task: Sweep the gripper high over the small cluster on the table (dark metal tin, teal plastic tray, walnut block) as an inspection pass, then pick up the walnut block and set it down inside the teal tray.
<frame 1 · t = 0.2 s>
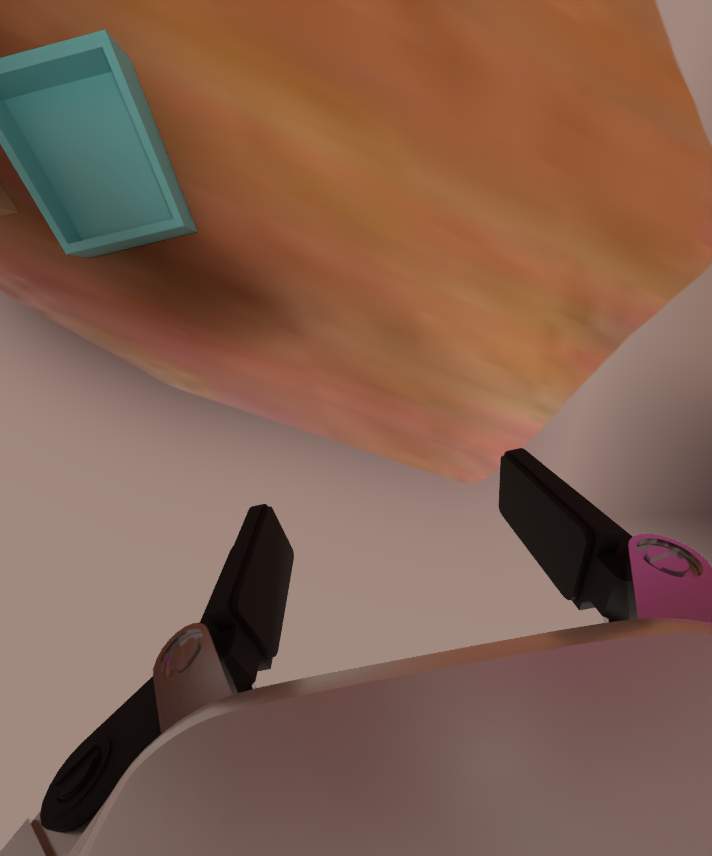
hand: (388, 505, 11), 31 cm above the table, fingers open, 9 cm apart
teal tray: (107, 170, 28), on the table
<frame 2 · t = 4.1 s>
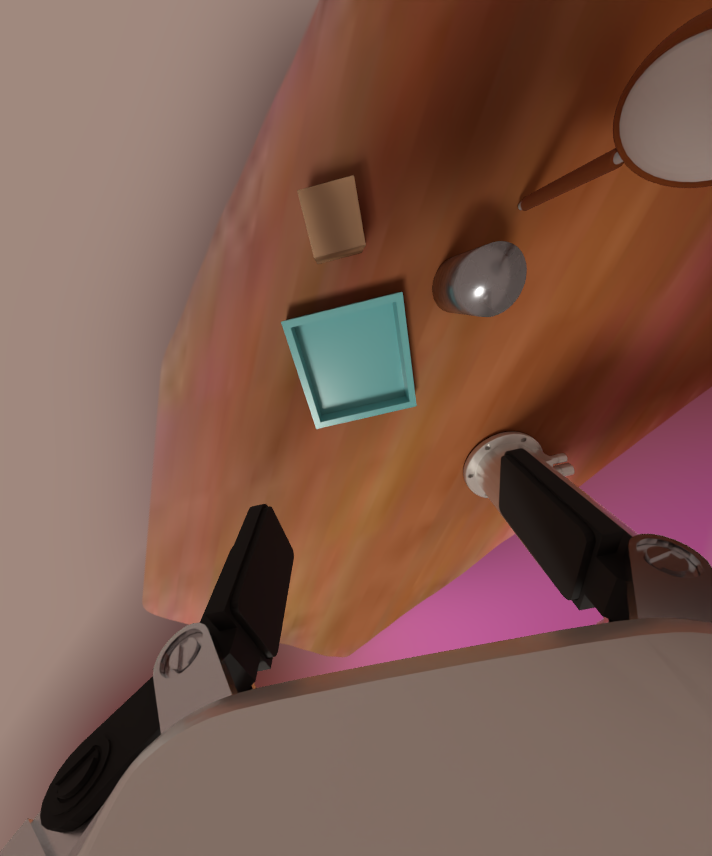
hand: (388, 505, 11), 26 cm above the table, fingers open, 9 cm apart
magnifying glass: (518, 207, 28), on the table
walnut block: (333, 231, 28), on the table
metal tin: (457, 285, 31), on the table
teal tray: (353, 362, 34), on the table
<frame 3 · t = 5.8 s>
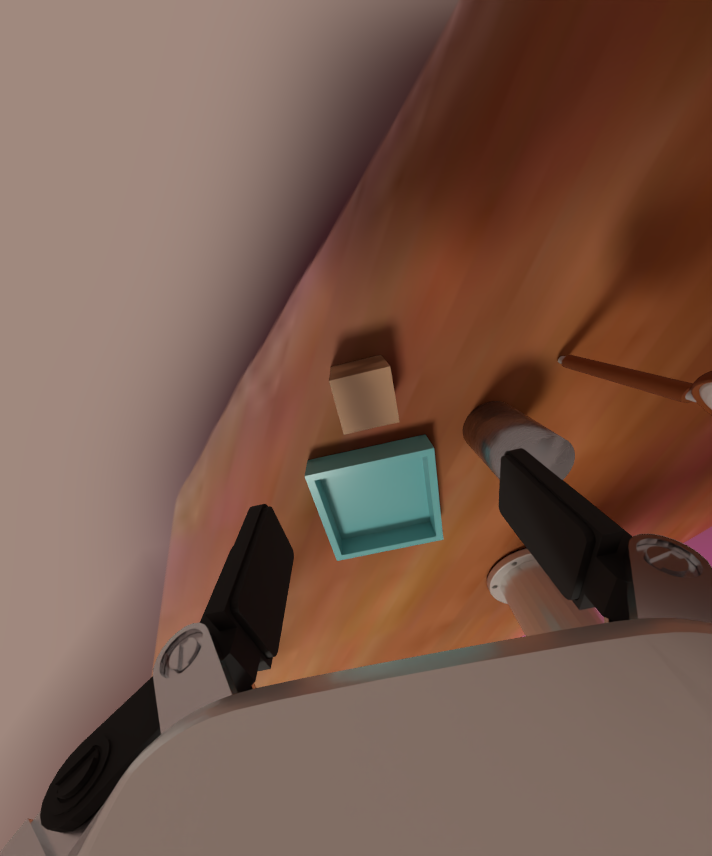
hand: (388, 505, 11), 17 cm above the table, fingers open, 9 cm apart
magnifying glass: (558, 358, 26), on the table
walnut block: (361, 384, 26), on the table
metal tin: (489, 426, 29), on the table
teal tray: (376, 493, 32), on the table
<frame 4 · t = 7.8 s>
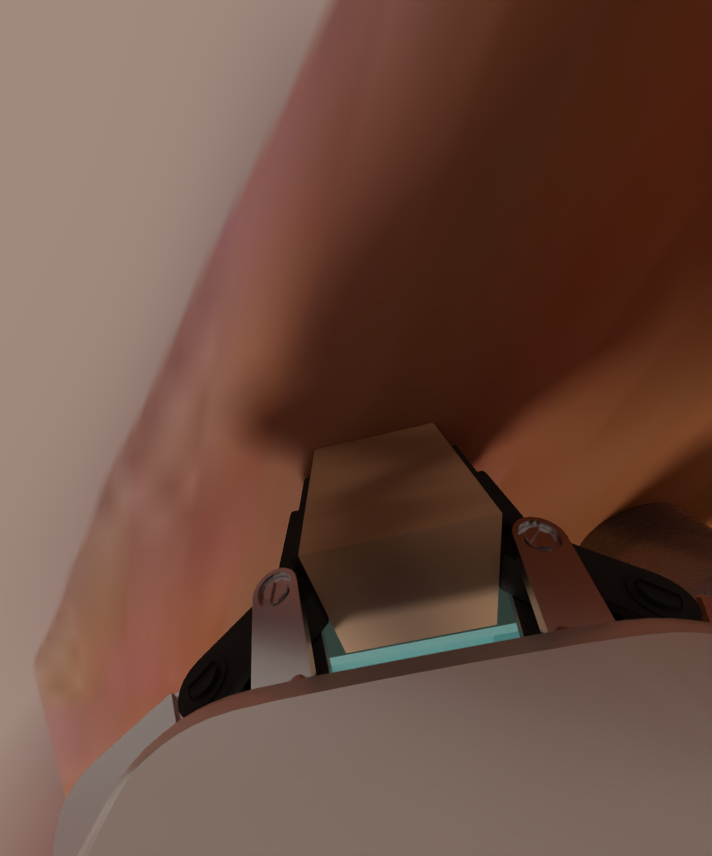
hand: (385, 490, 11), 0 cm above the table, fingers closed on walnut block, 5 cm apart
walnut block: (383, 482, 12), on the table, touching gripper
metal tin: (629, 543, 15), on the table
teal tray: (403, 641, 18), on the table
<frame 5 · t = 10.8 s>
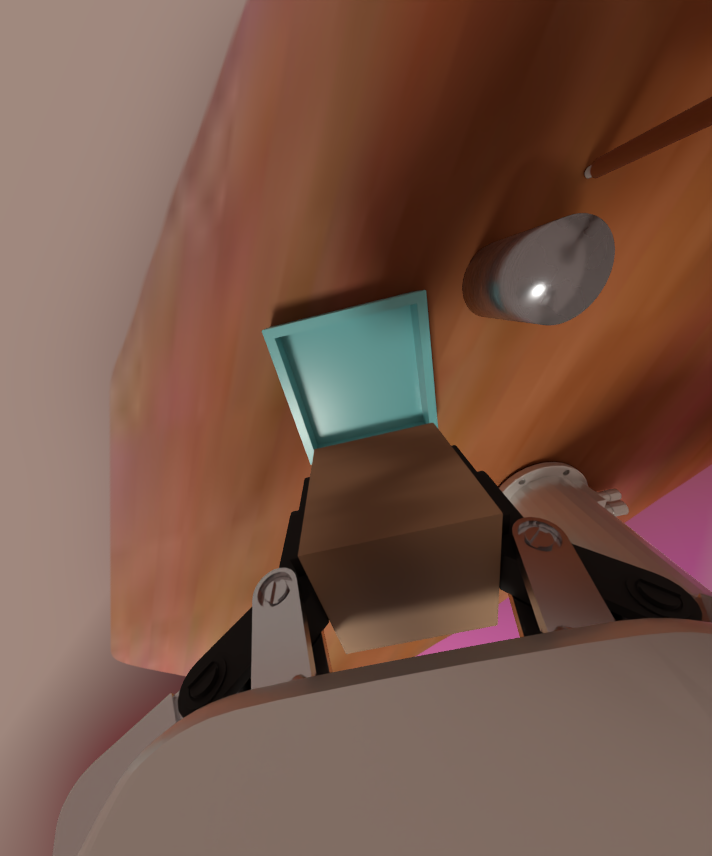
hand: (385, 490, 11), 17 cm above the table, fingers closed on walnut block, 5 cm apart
magnifying glass: (584, 174, 21), on the table
walnut block: (383, 482, 12), point 17 cm above the table, touching gripper
metal tin: (495, 281, 23), on the table
teal tray: (358, 380, 27), on the table
when the fingers open (3 cm above the table, at t = 13.7 s): walnut block drops 2 cm, resting on teal tray.
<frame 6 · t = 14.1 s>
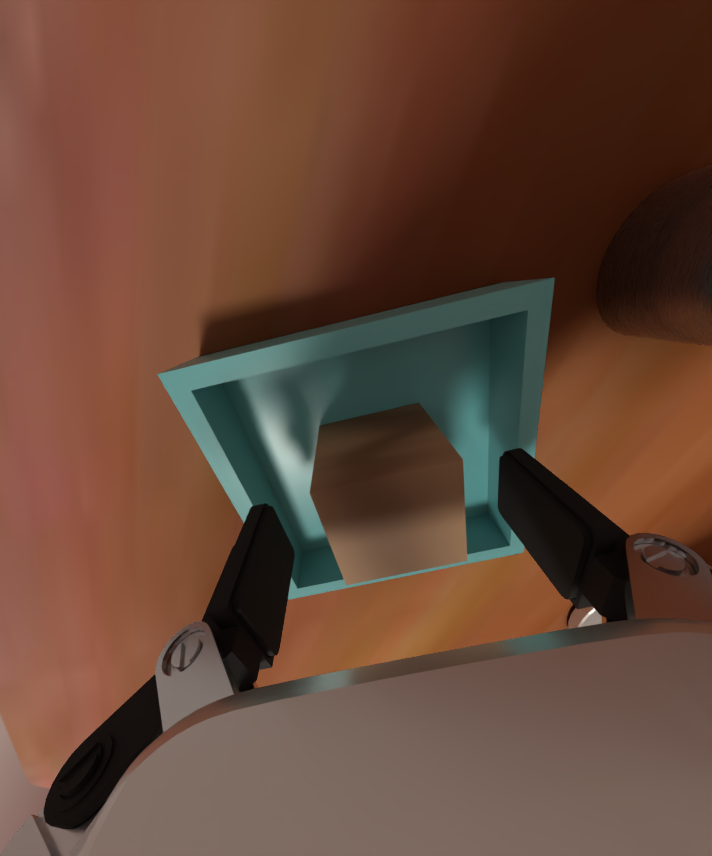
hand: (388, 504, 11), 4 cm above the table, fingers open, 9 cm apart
walnut block: (377, 455, 14), point 1 cm above the table, touching teal tray
metal tin: (668, 262, 11), on the table
teal tray: (375, 449, 14), on the table
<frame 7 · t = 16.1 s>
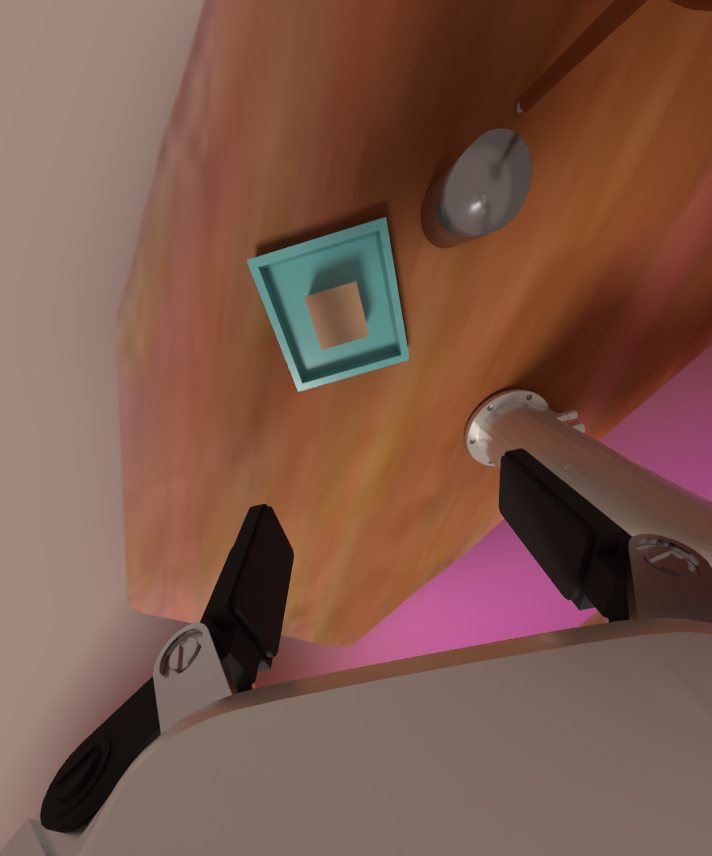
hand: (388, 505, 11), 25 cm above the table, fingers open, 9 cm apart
magnifying glass: (517, 110, 24), on the table
walnut block: (336, 313, 30), point 1 cm above the table, touching teal tray
metal tin: (449, 213, 27), on the table
teal tray: (335, 313, 30), on the table
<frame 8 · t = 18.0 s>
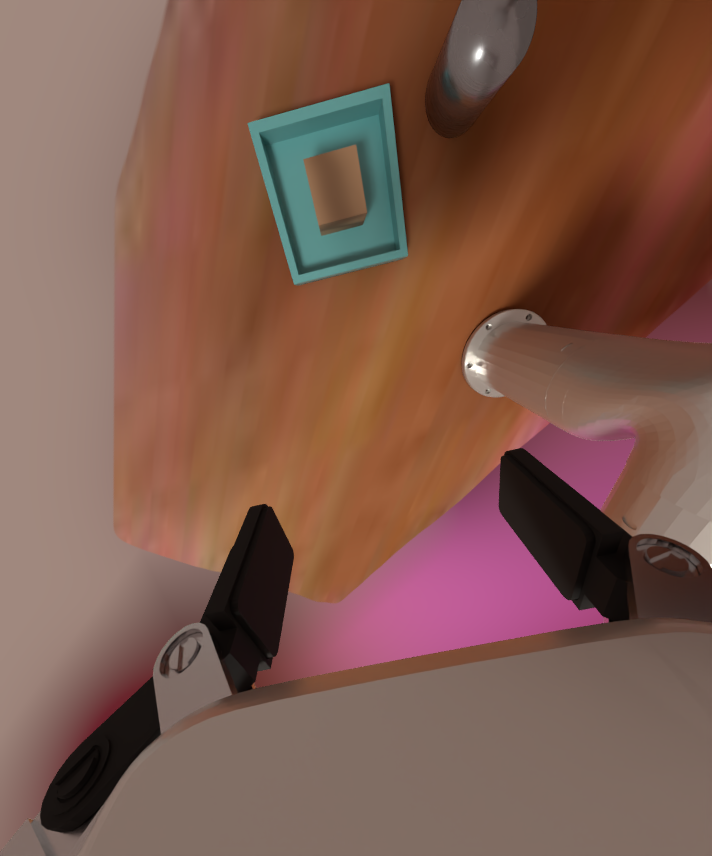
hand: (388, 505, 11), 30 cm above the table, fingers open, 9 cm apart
walnut block: (336, 203, 29), point 1 cm above the table, touching teal tray
metal tin: (454, 97, 27), on the table
teal tray: (336, 205, 30), on the table
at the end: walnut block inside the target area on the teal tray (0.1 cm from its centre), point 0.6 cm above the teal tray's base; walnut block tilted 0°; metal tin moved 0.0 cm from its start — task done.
